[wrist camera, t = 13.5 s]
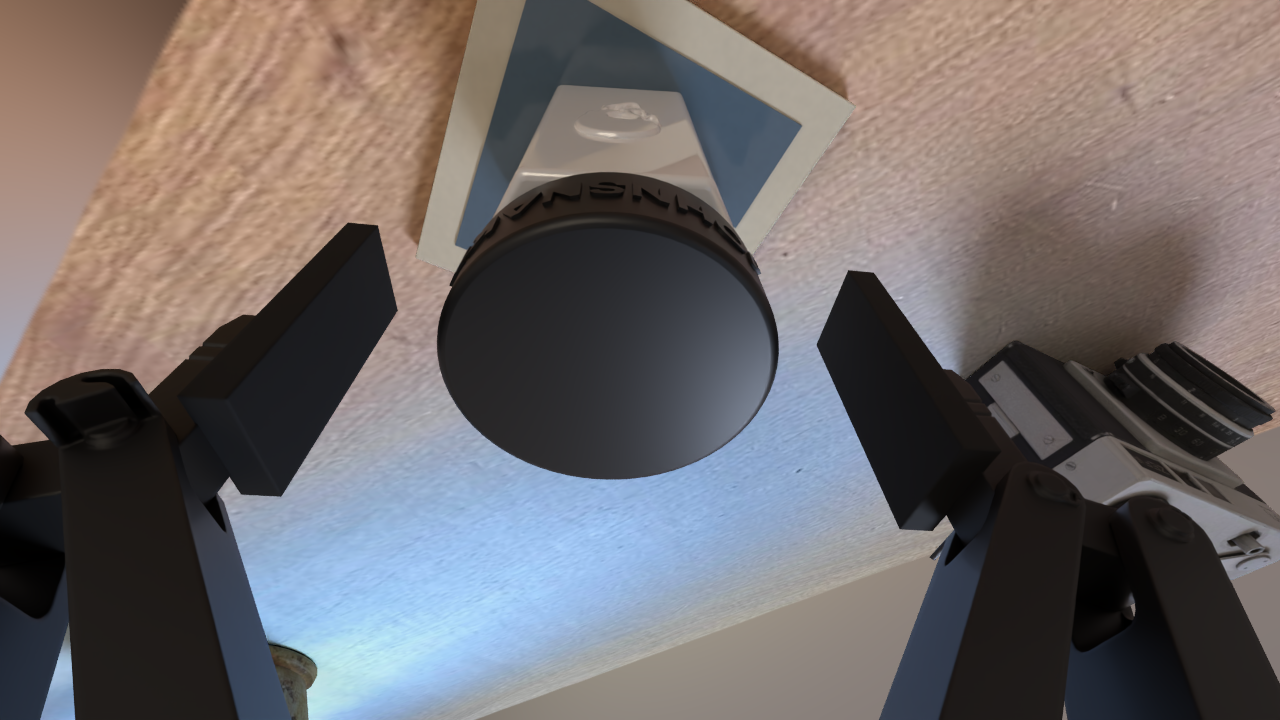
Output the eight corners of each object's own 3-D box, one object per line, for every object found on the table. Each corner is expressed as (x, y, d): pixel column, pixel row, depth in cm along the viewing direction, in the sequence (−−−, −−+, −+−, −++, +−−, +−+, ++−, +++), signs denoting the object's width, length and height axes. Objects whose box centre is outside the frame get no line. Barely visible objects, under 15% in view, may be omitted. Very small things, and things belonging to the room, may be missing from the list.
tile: (509, -112, 16) (503, -115, 15) (849, 101, 20) (857, 107, 20) (420, 250, 24) (414, 259, 23) (679, 350, 28) (680, 360, 27)
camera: (1230, 381, 30) (1424, 536, 23) (1073, 460, 35) (1190, 608, 28) (1113, 269, 25) (1312, 419, 18) (950, 380, 30) (1051, 533, 23)
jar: (739, 88, 19) (847, 224, 10) (708, 278, 24) (759, 485, 15) (498, 72, 19) (369, 201, 9) (518, 270, 24) (448, 479, 14)
